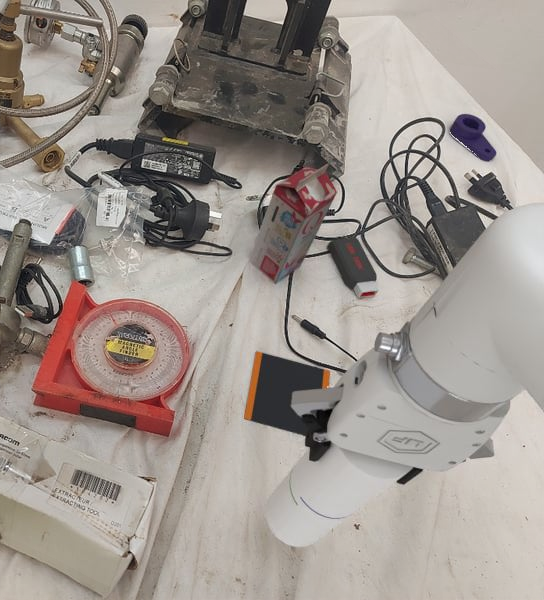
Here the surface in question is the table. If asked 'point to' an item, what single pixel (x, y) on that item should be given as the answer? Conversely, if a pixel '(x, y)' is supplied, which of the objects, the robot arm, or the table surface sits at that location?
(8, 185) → the table surface
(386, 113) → the table surface
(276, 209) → the juice carton
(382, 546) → the table surface
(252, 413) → the mat
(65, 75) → the table surface
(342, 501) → the cylindrical container
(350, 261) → the usb drive
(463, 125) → the lever
